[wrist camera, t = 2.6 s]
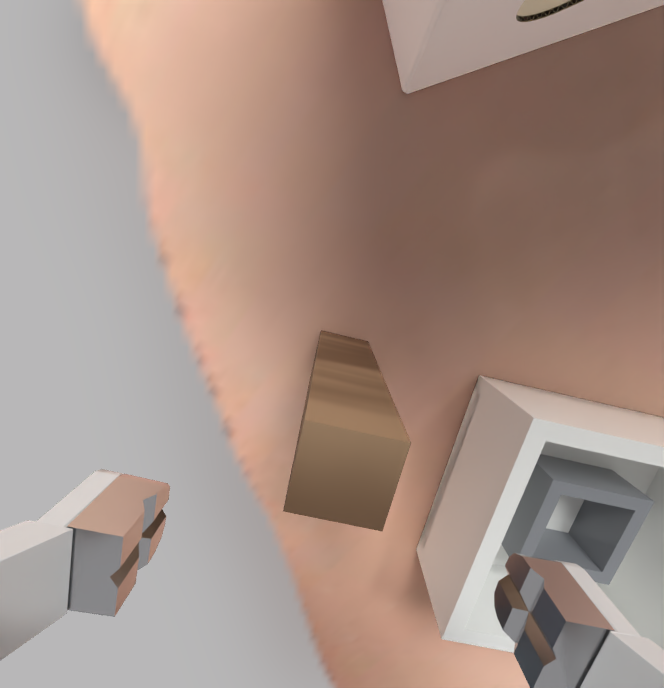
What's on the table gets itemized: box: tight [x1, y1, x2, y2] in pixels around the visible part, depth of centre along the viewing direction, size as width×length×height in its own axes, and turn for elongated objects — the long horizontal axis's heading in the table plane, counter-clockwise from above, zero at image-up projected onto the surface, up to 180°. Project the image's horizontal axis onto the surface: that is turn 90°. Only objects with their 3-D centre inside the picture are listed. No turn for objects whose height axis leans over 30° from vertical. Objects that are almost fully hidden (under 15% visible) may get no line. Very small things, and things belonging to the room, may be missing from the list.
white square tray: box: [416, 375, 664, 653], centre depth 20 cm, size 14×14×6 cm
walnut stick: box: [283, 331, 411, 531], centre depth 15 cm, size 3×3×12 cm
